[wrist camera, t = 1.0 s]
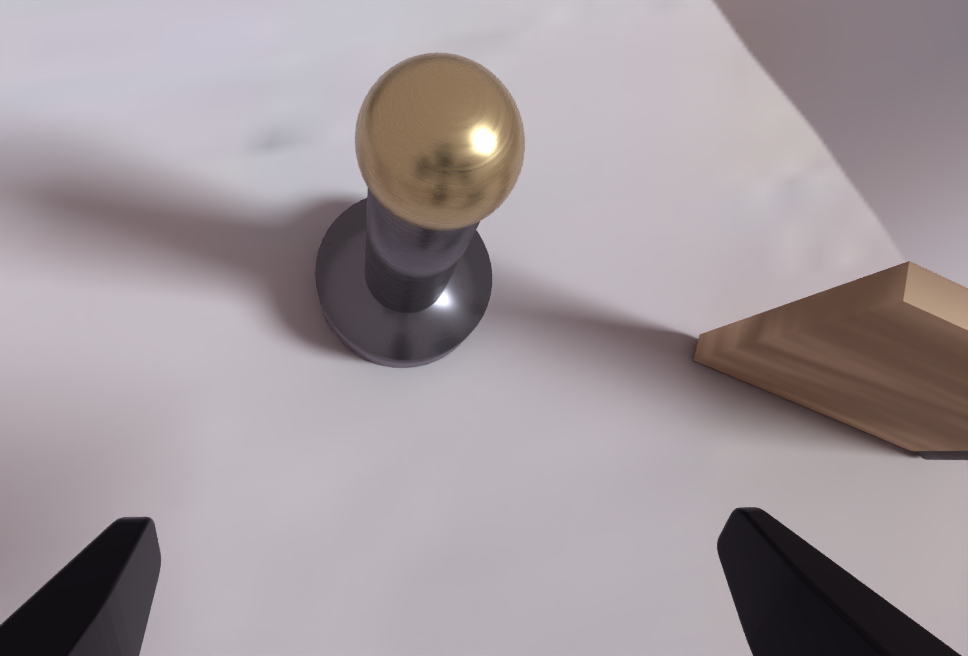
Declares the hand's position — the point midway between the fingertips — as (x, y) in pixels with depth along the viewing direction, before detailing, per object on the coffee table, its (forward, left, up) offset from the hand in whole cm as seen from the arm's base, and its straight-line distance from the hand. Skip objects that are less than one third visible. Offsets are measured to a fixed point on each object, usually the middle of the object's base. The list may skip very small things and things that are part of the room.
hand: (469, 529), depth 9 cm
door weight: (+7, +3, -13) cm, 15 cm away
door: (+10, -16, -13) cm, 23 cm away
